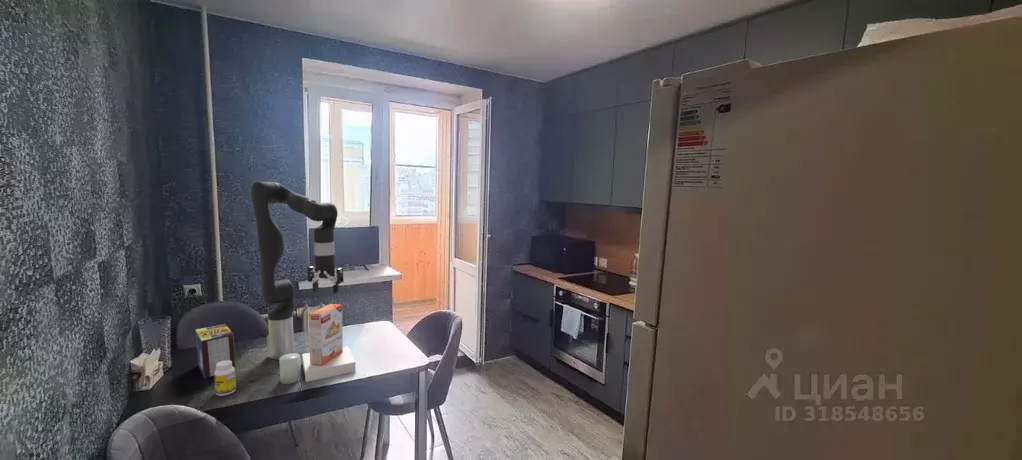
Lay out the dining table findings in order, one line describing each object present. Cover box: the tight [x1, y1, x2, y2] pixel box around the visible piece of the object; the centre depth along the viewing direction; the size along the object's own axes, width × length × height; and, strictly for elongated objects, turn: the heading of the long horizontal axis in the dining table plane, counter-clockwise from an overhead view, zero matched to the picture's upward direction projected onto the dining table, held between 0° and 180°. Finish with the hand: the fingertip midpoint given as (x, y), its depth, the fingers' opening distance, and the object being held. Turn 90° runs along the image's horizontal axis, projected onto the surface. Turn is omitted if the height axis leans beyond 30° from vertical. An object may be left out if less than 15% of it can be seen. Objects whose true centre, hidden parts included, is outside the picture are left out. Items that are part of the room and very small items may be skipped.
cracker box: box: [308, 303, 344, 365], centre depth 166 cm, size 14×6×21 cm, turn 169°
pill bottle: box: [213, 360, 237, 397], centre depth 146 cm, size 6×6×11 cm
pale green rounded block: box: [278, 352, 302, 385], centre depth 157 cm, size 7×7×9 cm
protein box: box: [194, 323, 237, 379], centre depth 164 cm, size 10×15×16 cm
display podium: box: [301, 345, 356, 382], centre depth 167 cm, size 18×18×4 cm
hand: (325, 292), depth 164 cm, fingers open, 8 cm apart
